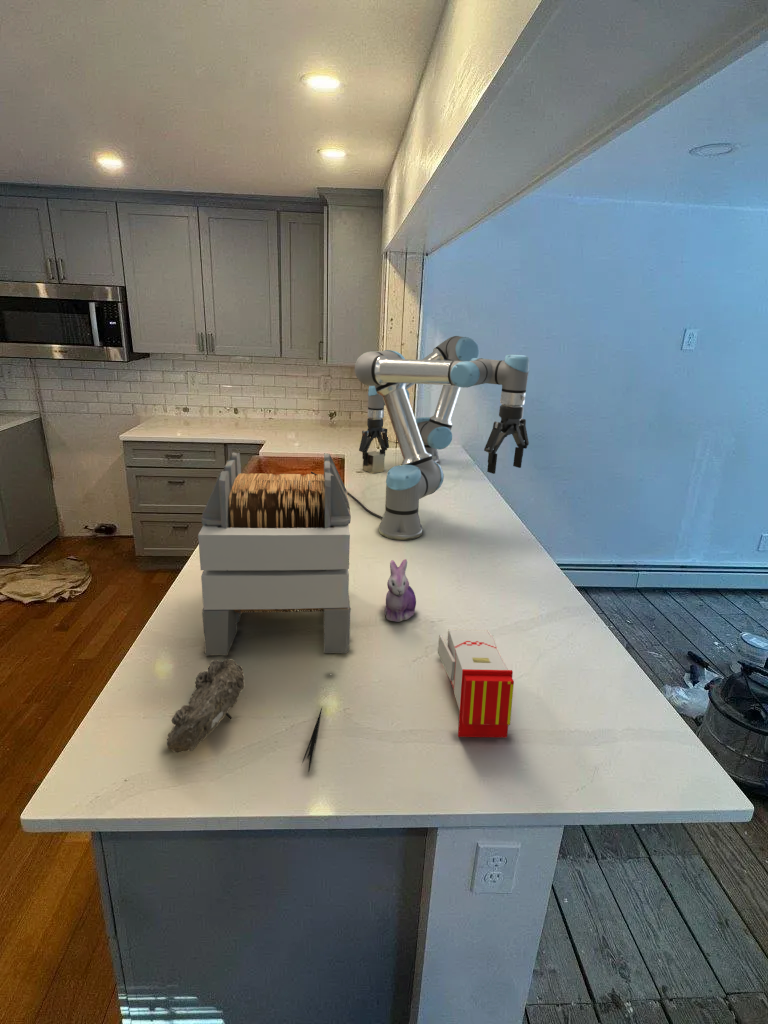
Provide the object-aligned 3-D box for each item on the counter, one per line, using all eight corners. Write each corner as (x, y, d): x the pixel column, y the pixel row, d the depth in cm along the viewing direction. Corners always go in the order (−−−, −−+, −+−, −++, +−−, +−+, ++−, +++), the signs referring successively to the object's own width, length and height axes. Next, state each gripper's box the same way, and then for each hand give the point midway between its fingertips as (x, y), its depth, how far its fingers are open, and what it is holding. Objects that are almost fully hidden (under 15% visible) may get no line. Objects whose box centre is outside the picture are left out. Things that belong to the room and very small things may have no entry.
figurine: (392, 627, 141) (395, 572, 136) (374, 608, 149) (376, 556, 144) (425, 619, 145) (429, 566, 140) (405, 601, 154) (408, 550, 149)
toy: (488, 613, 130) (523, 677, 101) (484, 667, 133) (517, 744, 104) (435, 612, 130) (455, 676, 101) (432, 666, 133) (451, 743, 103)
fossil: (192, 660, 117) (244, 628, 112) (224, 691, 120) (276, 661, 115) (142, 746, 98) (202, 712, 93) (182, 779, 101) (242, 748, 96)
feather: (331, 679, 122) (336, 673, 122) (307, 777, 96) (313, 769, 95) (324, 675, 122) (329, 669, 121) (298, 772, 95) (304, 764, 95)
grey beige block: (384, 471, 275) (384, 454, 272) (372, 473, 271) (373, 456, 268) (374, 467, 281) (374, 450, 278) (362, 470, 276) (363, 452, 273)
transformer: (226, 586, 157) (217, 442, 143) (344, 585, 161) (346, 445, 147) (202, 658, 125) (189, 482, 112) (350, 654, 129) (354, 483, 115)
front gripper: (496, 410, 170) (488, 478, 177) (544, 404, 185) (536, 467, 192) (477, 406, 175) (470, 472, 182) (526, 400, 191) (518, 462, 198)
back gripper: (387, 414, 277) (385, 459, 284) (351, 418, 263) (350, 465, 270) (398, 417, 271) (395, 462, 279) (362, 421, 258) (360, 469, 265)
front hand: (504, 469), depth 187 cm, fingers open, 13 cm apart
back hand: (373, 464), depth 275 cm, fingers open, 9 cm apart
